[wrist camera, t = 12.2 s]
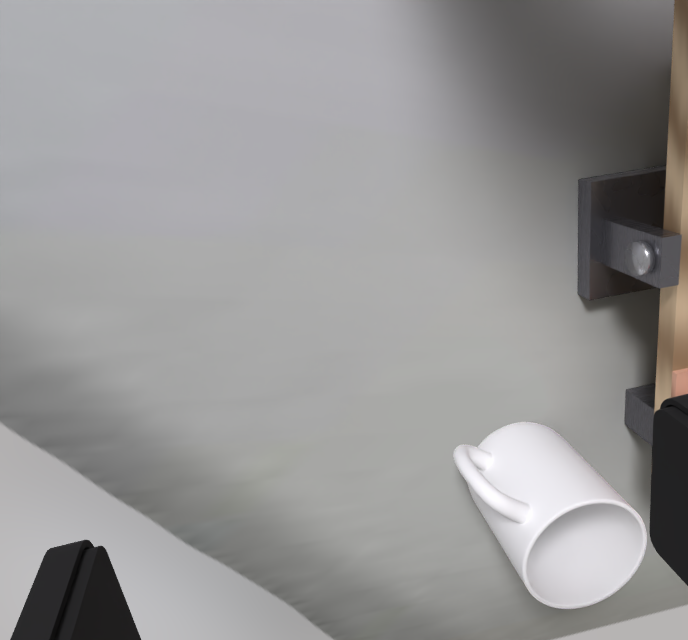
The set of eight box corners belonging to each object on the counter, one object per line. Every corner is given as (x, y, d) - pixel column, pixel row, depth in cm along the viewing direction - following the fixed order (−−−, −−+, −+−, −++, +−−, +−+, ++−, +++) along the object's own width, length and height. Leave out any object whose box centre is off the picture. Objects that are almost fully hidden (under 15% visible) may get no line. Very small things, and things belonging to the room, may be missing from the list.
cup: (523, 525, 49) (592, 625, 40) (404, 469, 45) (449, 564, 36) (585, 444, 48) (673, 529, 38) (467, 379, 44) (532, 455, 34)
